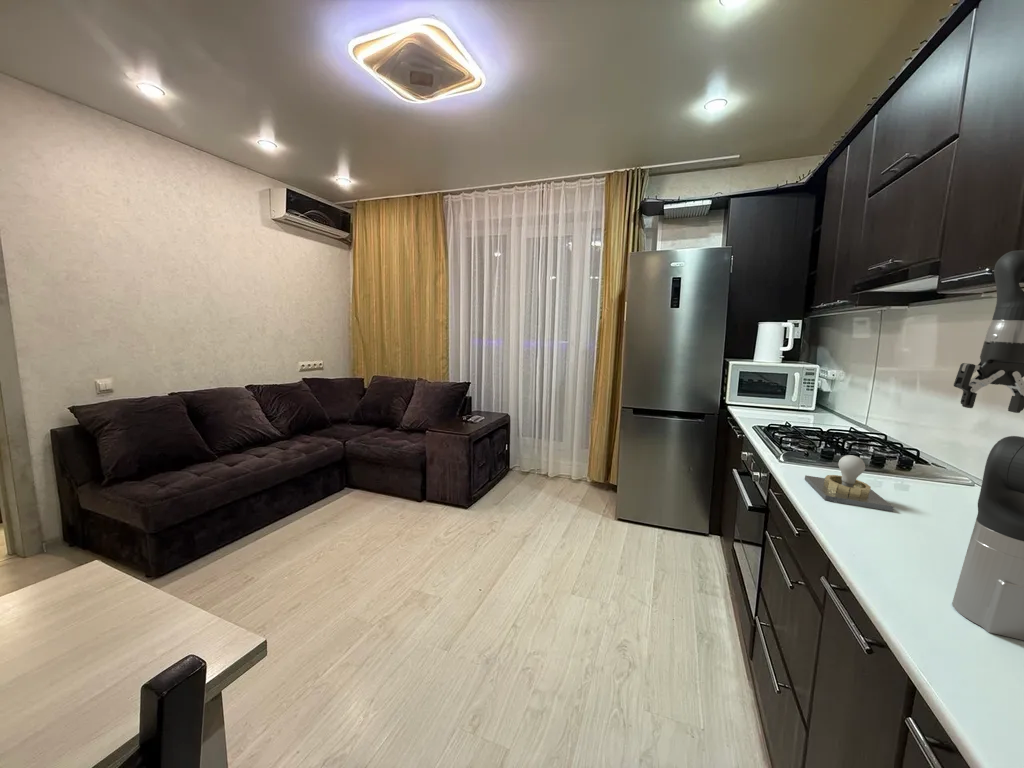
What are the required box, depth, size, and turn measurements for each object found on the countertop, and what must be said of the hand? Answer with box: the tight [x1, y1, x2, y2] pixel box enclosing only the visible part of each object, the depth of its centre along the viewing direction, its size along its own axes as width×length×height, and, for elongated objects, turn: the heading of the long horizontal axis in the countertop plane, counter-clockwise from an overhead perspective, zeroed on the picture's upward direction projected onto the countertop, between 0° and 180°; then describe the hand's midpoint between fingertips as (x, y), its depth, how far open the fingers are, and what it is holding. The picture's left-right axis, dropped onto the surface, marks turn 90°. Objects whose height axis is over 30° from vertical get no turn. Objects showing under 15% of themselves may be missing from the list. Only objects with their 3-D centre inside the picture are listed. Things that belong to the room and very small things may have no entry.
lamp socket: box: [803, 474, 895, 512], centre depth 119 cm, size 16×16×4 cm
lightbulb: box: [837, 454, 866, 487], centre depth 118 cm, size 6×6×11 cm
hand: (989, 409), depth 92 cm, fingers open, 8 cm apart
